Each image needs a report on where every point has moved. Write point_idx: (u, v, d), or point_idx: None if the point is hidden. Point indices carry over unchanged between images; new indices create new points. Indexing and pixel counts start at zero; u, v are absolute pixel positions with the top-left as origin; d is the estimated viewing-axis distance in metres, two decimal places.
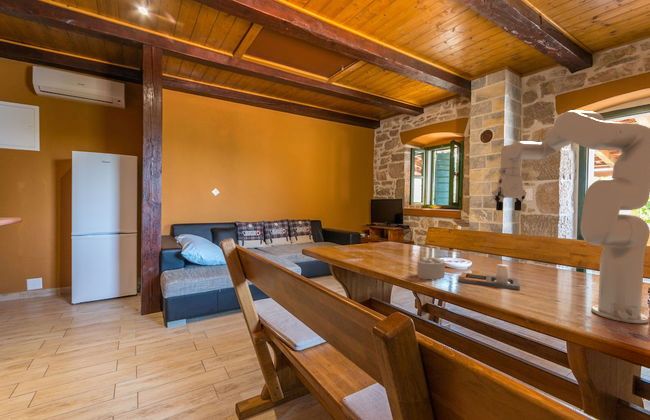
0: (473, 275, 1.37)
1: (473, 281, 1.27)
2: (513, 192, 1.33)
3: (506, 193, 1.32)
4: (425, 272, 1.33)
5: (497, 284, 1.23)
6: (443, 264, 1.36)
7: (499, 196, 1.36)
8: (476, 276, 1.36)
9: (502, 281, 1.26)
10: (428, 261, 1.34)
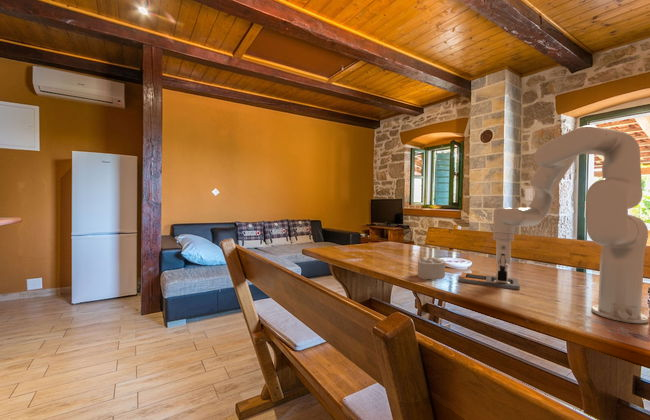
0: (473, 275, 1.37)
1: (473, 281, 1.27)
2: None
3: (510, 261, 1.22)
4: (426, 272, 1.33)
5: (497, 284, 1.23)
6: (443, 264, 1.36)
7: None
8: (476, 276, 1.36)
9: (502, 281, 1.26)
10: (429, 261, 1.34)
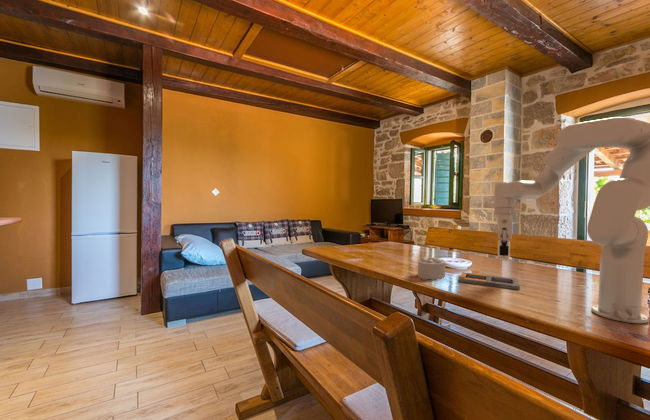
0: (473, 275, 1.37)
1: (473, 281, 1.27)
2: None
3: None
4: (426, 272, 1.33)
5: (497, 284, 1.23)
6: (444, 264, 1.36)
7: (502, 239, 1.24)
8: (476, 276, 1.36)
9: (504, 256, 1.25)
10: (429, 261, 1.34)
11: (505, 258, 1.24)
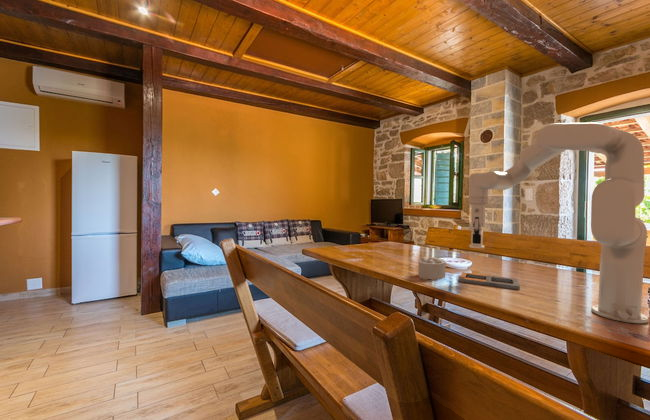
0: (473, 275, 1.37)
1: (473, 281, 1.27)
2: (484, 222, 1.30)
3: (484, 223, 1.27)
4: (427, 272, 1.33)
5: (497, 284, 1.23)
6: (444, 264, 1.36)
7: (475, 228, 1.29)
8: (476, 276, 1.36)
9: (476, 244, 1.30)
10: (429, 261, 1.34)
11: (477, 246, 1.29)
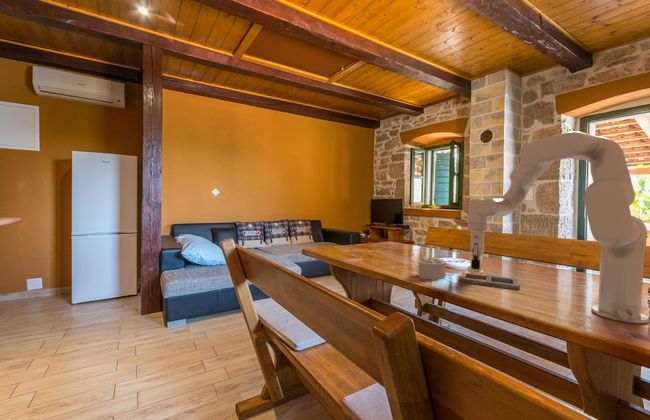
0: (473, 275, 1.37)
1: (473, 281, 1.27)
2: None
3: (483, 249, 1.27)
4: (427, 272, 1.33)
5: (497, 284, 1.23)
6: (444, 264, 1.36)
7: (474, 253, 1.30)
8: (476, 276, 1.36)
9: (475, 269, 1.30)
10: (430, 261, 1.34)
11: (476, 271, 1.30)
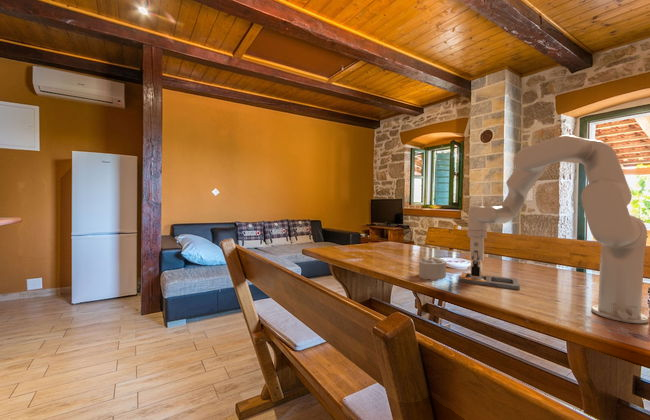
0: None
1: (473, 281, 1.27)
2: (483, 255, 1.30)
3: (483, 257, 1.27)
4: (428, 272, 1.33)
5: (497, 284, 1.23)
6: (445, 264, 1.36)
7: (474, 260, 1.29)
8: None
9: (476, 278, 1.30)
10: (430, 261, 1.34)
11: None
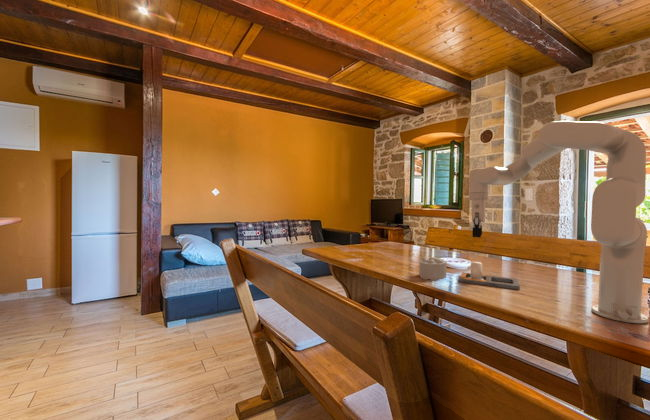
0: None
1: (473, 281, 1.27)
2: None
3: (484, 219, 1.27)
4: (428, 272, 1.33)
5: (497, 284, 1.23)
6: (445, 264, 1.36)
7: (475, 222, 1.28)
8: None
9: (476, 278, 1.30)
10: (430, 261, 1.34)
11: None
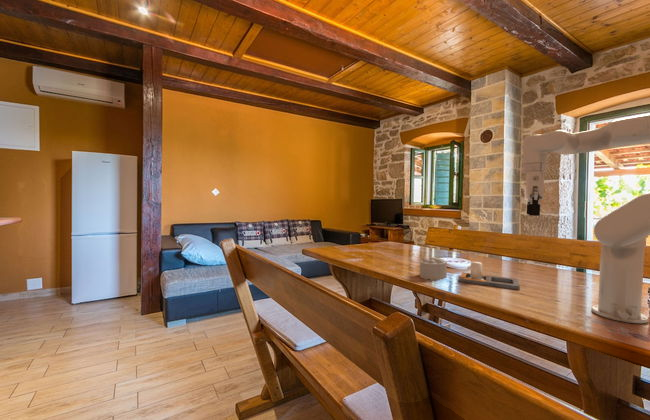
0: None
1: (473, 281, 1.27)
2: None
3: None
4: (429, 272, 1.33)
5: (497, 284, 1.23)
6: (445, 264, 1.36)
7: (532, 197, 1.08)
8: None
9: (476, 278, 1.30)
10: (431, 261, 1.34)
11: None
